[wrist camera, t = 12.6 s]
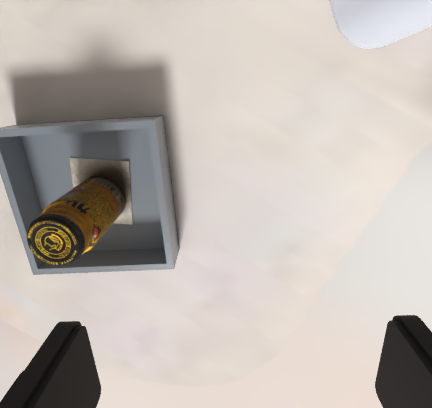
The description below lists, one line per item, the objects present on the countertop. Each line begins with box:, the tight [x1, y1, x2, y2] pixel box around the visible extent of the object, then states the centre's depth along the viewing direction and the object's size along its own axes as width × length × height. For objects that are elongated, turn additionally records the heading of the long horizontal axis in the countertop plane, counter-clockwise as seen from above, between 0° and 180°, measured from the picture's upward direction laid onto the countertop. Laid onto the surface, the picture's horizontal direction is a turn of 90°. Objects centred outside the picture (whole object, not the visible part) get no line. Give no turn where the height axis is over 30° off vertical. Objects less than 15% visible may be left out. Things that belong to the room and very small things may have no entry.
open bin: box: [0, 116, 179, 275], centre depth 37 cm, size 18×18×5 cm
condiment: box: [27, 158, 133, 266], centre depth 33 cm, size 7×8×12 cm
